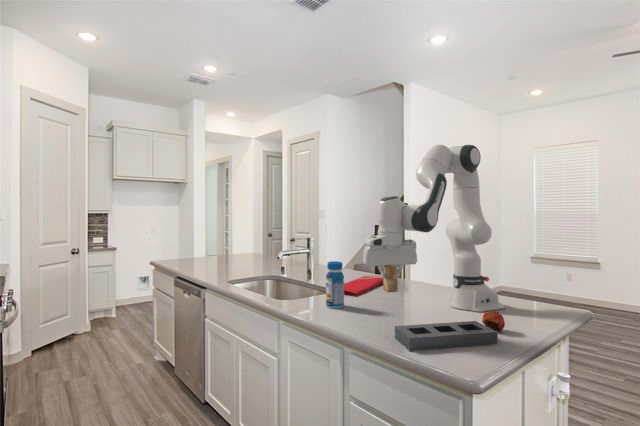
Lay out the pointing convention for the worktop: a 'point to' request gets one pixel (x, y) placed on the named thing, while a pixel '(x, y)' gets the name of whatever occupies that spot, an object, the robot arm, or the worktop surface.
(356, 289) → the dish drying mat
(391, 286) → the oak peg
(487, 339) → the gray socket block
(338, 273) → the beverage bottle
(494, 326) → the pomegranate
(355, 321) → the worktop surface
